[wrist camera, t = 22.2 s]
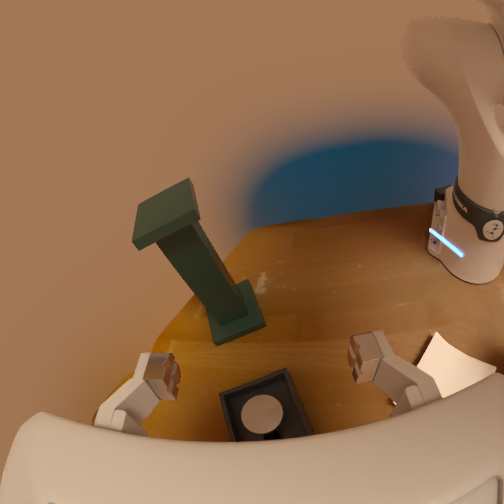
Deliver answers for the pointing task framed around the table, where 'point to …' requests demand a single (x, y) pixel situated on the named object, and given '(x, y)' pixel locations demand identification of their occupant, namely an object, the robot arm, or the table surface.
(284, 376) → the tray
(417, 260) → the table surface
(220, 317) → the stand
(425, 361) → the folded paper
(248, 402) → the scoop
